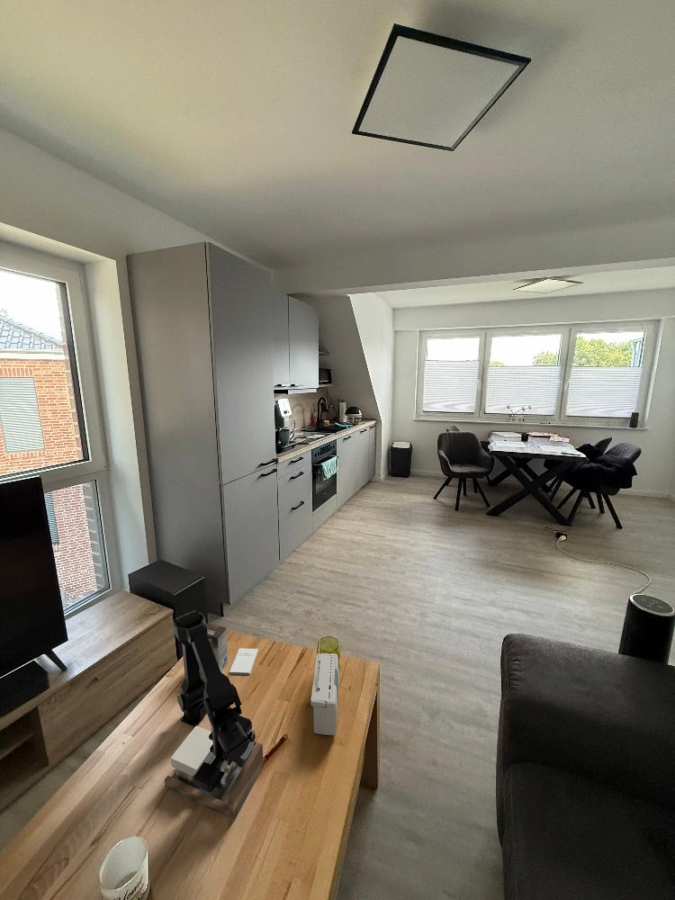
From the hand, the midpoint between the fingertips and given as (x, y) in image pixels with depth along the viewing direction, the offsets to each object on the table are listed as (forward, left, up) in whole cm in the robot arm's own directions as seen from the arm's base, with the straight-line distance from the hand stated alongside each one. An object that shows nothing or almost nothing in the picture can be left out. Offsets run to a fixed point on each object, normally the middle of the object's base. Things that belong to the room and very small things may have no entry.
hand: (226, 774), depth 100 cm
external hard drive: (-21, +39, -3) cm, 44 cm away
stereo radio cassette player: (+18, +31, -3) cm, 36 cm away
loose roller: (0, 0, -1) cm, 1 cm away
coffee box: (-31, +33, -3) cm, 45 cm away
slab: (-10, 0, +2) cm, 10 cm away
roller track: (-4, 0, -3) cm, 5 cm away
